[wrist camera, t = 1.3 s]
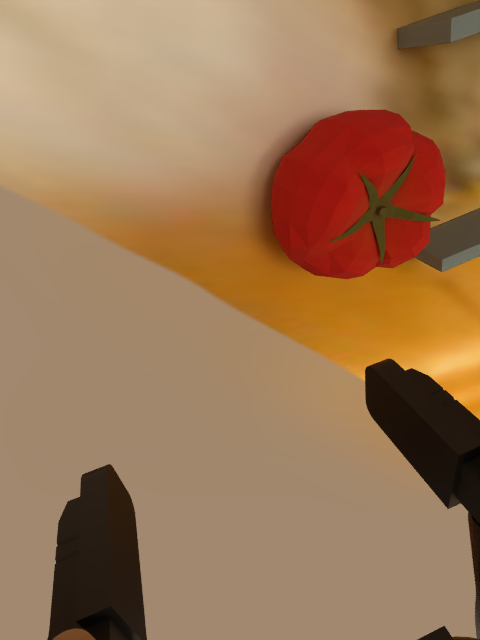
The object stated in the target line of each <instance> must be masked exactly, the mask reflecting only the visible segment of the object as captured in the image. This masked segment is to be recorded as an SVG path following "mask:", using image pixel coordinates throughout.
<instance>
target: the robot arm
mask: <svg viewBox="0 0 480 640" xmlns="http://www.w3.org/2000/svg"><path fill="white" fill-rule="evenodd" d="M365 387H366V389H365V390H366V405H367V408H368V411H369V413H370V415H371V416H372V418H373V419H374V421H375V422H376V423H377V424H378V425H379V426H380V428H381V429H382V430H383V431H384V433H385V434H386V435H387V436H388V437H389V438H390V440H391V441H392V442H393V443H394V445H395V446H396V447H397V448H398V449H399V451H400V452H401V453H402V454H403V455H404V457H405V458H406V459H407V460H408V461H409V463H410V464H411V465H412V466H413V467H414V469H415V470H416V471H417V472H418V473H419V474H420V476H421V477H422V478H423V479H424V481H425V482H426V483H427V484H428V485H429V487H430V488H431V489H432V490H433V491H434V492H435V494H436V495H437V496H438V497H439V499H440V500H441V501H442V502H443V503H444V505H445V506H446V507H447V508H448V509H449V508H451V507H453V506H456V505H458V504H460V503H461V504H462V505H463V506H464V507H465V508H466V509H467V511H468V523H469V531H470V541H471V549H472V559H473V568H474V575H475V576H474V577H475V585H476V602H475V625H476V635H477V639H475V638H470V637H451V635H450V634H449V632H448V631H447V629H446V628H445V626H443V627H441V628H439V629H437V630H435V631H433V632H431V633H429V634H428V635H426V636H424V637H422V638H420V639H418V640H480V420H479V419H478V418H477V417H476V416H474V415H473V414H472V413H471V412H470V411H469V410H468V409H466V408H465V407H464V406H463V405H462V404H461V403H459V402H458V401H457V400H454V397H453V396H451V395H450V394H449V393H448V392H447V391H446V390H445V391H444V390H443V388H442V387H441V386H440V385H439V384H438V383H437V382H435V381H434V380H433V379H432V378H431V377H430V376H428V375H426V374H423V373H421V372H419V371H417V370H414V369H412V368H411V369H409V370H406V371H405V370H404V369H403V368H401V367H400V366H399V365H398V364H397V363H396V362H395V361H394V360H392V359H386V360H383V361H381V362H378V363H376V364H373V365H370V366H368V367H366V370H365ZM57 545H58V546H57V547H56V558H55V560H56V564H55V571H54V582H53V595H52V605H51V618H50V629H49V636H48V640H147V637H146V627H145V616H144V605H143V594H142V583H141V572H140V561H139V550H138V539H137V529H136V518H135V511H134V506H133V503H132V500H131V497H130V495H129V493H128V491H127V490H126V488H125V486H124V485H123V483H122V481H121V480H120V478H119V476H118V475H117V473H116V472H115V470H114V468H113V467H112V466H111V465H110V464H109V465H106V466H103V467H101V468H98V469H95V470H93V471H90V472H88V473H85V474H83V475H82V477H81V493H80V497H78V498H76V499H73V500H70V501H68V502H67V505H66V507H65V509H64V511H63V513H62V516H61V518H60V520H59V523H58V535H57Z"/></svg>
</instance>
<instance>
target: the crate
mask: <svg viewBox="0 0 480 640" xmlns="http://www.w3.org/2000/svg"><path fill="white" fill-rule="evenodd" d="M479 32H480V0H479V1H476V2H473V3H470V4H467V5H464V6H461V7H458V8H456V9H453V10H450V11H447V12H444V13H441V14H438V15H435V16H432V17H429V18H426V19H424V20H421V21H418V22H415V23H412V24H409V25H406V26H403V27H400V28H398V49H402V48H410V47H418V46H427V45H435V44H444V43H451V42H454V41H457V40H460V39H463V38H465V37H468V36H471V35H474V34H477V33H479ZM479 256H480V208H479V209H477V210H475V211H472V212H470V213H467V214H465V215H462V216H460V217H458V218H455V219H453V220H450V221H448V222H445V223H443V224H441V225H438V226H436V227H433V228H431V229H430V242H429V243H428V244H427V245H426V246H425V248H424V249H423V250H422V251H421V252H420V253H419V254H418V255H417V256H416V257H415V258H417V259H418V260H420V261H422V262H424V263H426V264H428V265H430V266H431V267H433V268H435V269H437V270H439V271H441V272H444V271H446V270H448V269H451V268H453V267H455V266H458V265H460V264H462V263H465V262H467V261H469V260H472V259H474V258H476V257H479Z"/></svg>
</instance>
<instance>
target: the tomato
mask: <svg viewBox="0 0 480 640" xmlns="http://www.w3.org/2000/svg"><path fill="white" fill-rule="evenodd" d="M444 187H445V168H444V165H443V161H442V158H441V154H440V151H439V149H438V147H437V146H436V144H435V143H434V142H433V140H431V139H429V138H427V137H425V136H423V135H420V134H418V133H416V132H414V131H412V130H411V127H410V125H409V124H408V123H407V122H406V121H405V120H404V119H403V118H402V117H401V116H400V115H399V114H396V113H393V112H390V111H387V110H356V111H347V112H343V113H340V114H337V115H334V116H331V117H328V118H325V119H323V120H321V121H319V122H318V123H316V124H315V125H314V126H313V127H312V129H311V130H310V131H309V133H308V134H307V135H306V137H305V138H304V139H303V141H302V142H300V143H299V144H298V145H297V146H296V147H295V148H294V149H292V150H291V151H290V152H289V153H287V154H286V155H285V156H284V157H283V158H282V160H281V163H280V165H279V168H278V170H277V172H276V175H275V177H274V180H273V188H272V197H271V214H272V222H273V230H274V234H275V236H276V238H277V240H278V241H279V243H280V245H281V247H282V249H283V251H284V252H285V253H286V255H287V256H288V257H289V258H290V259H291V260H292V261H293V262H295V263H296V264H298V265H299V266H301V267H302V268H303V269H305V270H307V271H309V272H310V273H312V274H314V275H317V276H326V277H334V278H342V279H350V278H355V277H360V276H363V275H365V274H366V273H368V272H369V271H371V270H372V269H374V268H375V267H385V268H394V267H396V266H398V265H400V264H402V263H404V262H406V261H407V260H409V259H412V258H414V257H416V256H417V255H418V254H419V253H420V252H421V251H422V250H423V249H424V248H425V246H426V245H427V244H428V243H429V242H430V221H440V220H438V219H435V218H432V217H430V215H431V214H432V213H433V212H434V211H436V210H437V209H438V208H439V207H440V206H441V205H442V204H443V199H444Z"/></svg>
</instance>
